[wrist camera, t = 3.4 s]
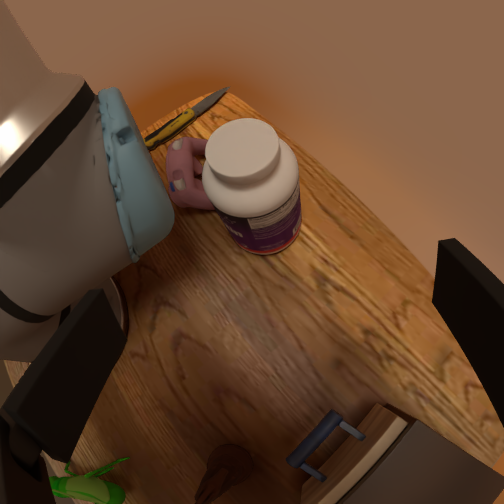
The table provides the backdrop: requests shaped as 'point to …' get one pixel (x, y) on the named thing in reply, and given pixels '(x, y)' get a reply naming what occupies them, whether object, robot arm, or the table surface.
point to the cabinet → (426, 472)
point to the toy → (89, 486)
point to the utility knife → (181, 121)
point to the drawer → (345, 453)
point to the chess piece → (223, 472)
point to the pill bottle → (253, 185)
